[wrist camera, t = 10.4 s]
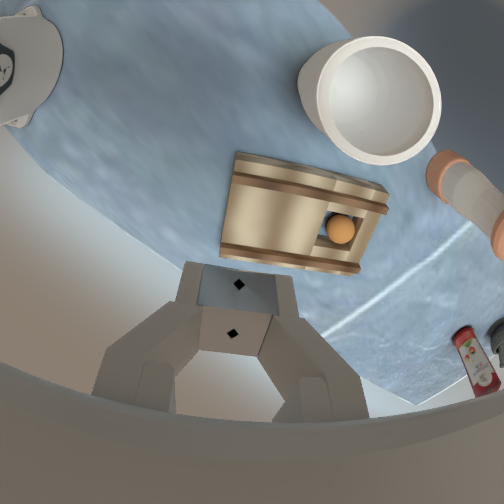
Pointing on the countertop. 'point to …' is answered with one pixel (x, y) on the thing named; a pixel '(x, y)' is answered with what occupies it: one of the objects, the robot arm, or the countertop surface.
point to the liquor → (476, 363)
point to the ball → (340, 229)
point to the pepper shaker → (469, 195)
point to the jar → (371, 98)
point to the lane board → (297, 215)
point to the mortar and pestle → (498, 339)
